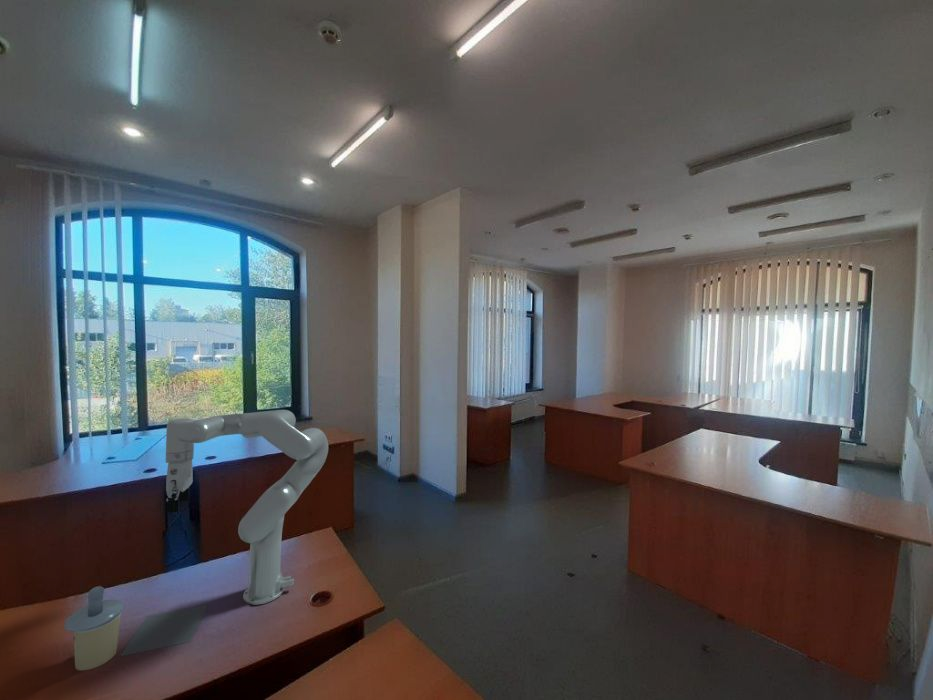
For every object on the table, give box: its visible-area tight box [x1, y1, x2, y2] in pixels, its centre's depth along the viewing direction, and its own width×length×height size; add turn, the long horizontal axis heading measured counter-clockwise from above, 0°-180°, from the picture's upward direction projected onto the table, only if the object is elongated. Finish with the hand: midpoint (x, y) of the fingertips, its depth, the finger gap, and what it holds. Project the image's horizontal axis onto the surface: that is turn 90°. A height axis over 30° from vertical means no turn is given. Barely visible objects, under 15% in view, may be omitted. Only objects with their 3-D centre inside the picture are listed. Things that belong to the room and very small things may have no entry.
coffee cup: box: [72, 610, 123, 671], centre depth 99 cm, size 9×9×12 cm
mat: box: [119, 604, 209, 657], centre depth 110 cm, size 16×16×1 cm
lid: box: [64, 585, 124, 632], centre depth 99 cm, size 11×11×8 cm
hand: (178, 506), depth 125 cm, fingers open, 9 cm apart
